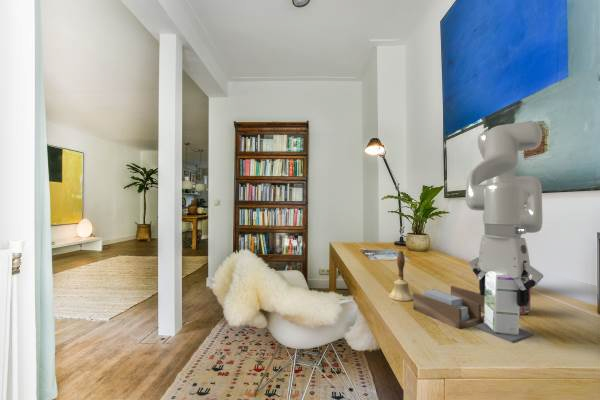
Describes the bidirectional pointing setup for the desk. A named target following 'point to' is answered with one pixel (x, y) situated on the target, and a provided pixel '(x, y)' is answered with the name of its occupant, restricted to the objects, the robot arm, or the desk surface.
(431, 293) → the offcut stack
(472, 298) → the rack
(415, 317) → the desk surface
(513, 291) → the syrup box
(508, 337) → the mat
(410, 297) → the hand bell
